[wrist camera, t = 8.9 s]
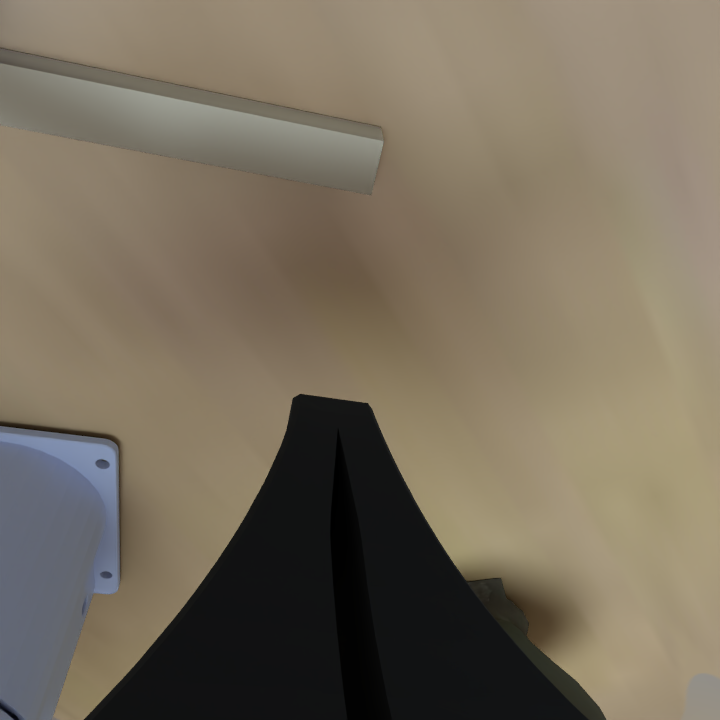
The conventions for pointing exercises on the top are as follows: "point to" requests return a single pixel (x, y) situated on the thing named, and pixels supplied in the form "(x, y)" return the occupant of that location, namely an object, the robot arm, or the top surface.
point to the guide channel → (186, 123)
